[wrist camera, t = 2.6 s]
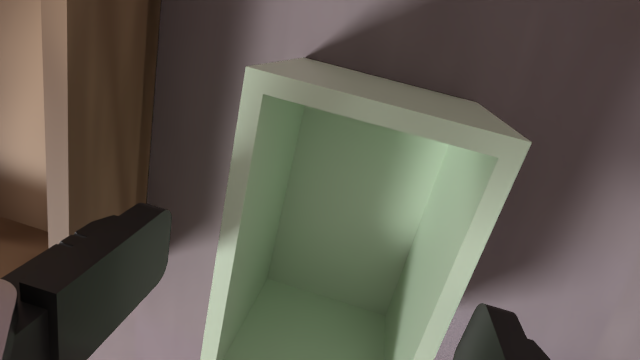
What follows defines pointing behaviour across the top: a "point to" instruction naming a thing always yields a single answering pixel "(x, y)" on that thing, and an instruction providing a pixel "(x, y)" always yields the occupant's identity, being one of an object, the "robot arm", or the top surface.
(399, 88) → the small crate
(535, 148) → the top surface
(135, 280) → the robot arm
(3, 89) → the big crate
